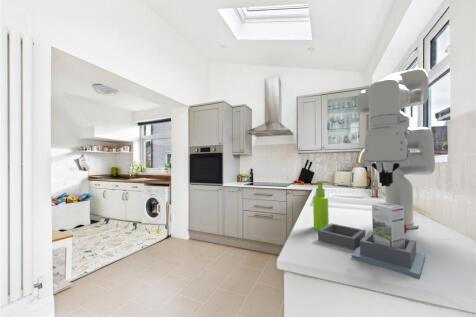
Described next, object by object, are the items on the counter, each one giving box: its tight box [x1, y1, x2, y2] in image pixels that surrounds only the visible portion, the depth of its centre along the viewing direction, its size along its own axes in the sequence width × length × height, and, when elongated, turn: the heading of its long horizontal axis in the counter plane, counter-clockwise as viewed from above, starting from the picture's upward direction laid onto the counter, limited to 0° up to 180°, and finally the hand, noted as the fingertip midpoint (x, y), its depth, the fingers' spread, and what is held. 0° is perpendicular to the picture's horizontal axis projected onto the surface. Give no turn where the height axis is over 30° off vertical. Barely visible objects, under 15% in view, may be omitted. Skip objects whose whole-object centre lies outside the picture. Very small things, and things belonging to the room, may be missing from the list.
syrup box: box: [371, 202, 406, 250], centre depth 60 cm, size 6×6×14 cm
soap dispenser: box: [312, 180, 331, 231], centre depth 87 cm, size 6×7×20 cm
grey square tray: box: [317, 223, 366, 251], centre depth 74 cm, size 12×12×4 cm
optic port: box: [350, 231, 426, 279], centre depth 60 cm, size 15×15×5 cm
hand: (386, 185), depth 60 cm, fingers closed
